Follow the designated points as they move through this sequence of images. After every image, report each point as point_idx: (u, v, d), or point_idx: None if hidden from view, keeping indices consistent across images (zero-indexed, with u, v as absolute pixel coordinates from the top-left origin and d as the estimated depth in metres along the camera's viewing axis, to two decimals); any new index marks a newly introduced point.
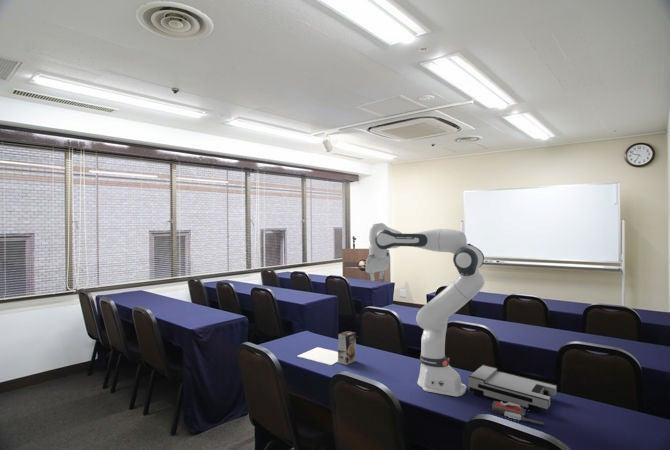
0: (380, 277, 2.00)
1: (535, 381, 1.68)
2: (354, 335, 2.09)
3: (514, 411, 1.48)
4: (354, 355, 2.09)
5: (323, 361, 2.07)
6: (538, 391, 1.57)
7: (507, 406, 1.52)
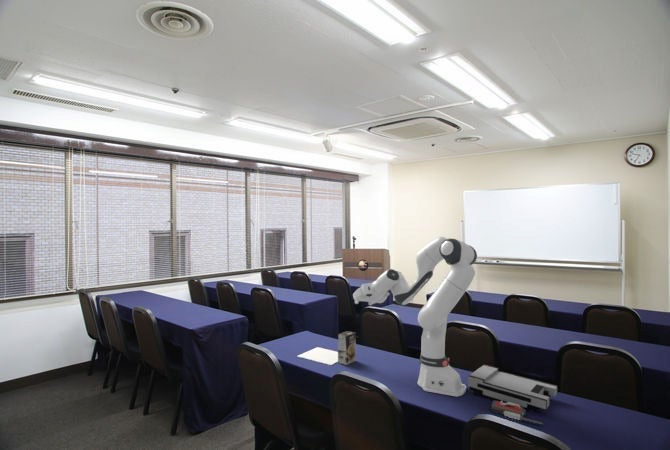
0: None
1: (536, 381, 1.68)
2: (354, 335, 2.09)
3: (513, 411, 1.48)
4: (354, 355, 2.09)
5: (323, 361, 2.07)
6: (537, 391, 1.57)
7: (507, 406, 1.52)
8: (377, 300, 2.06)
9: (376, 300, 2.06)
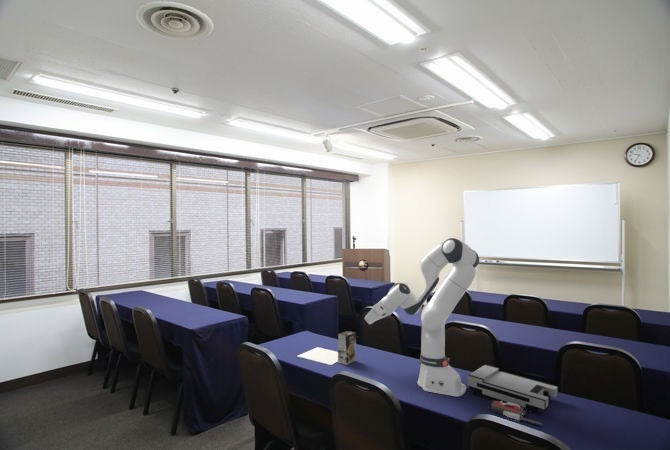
0: None
1: (536, 381, 1.67)
2: (354, 335, 2.09)
3: (513, 411, 1.49)
4: (354, 355, 2.09)
5: (323, 361, 2.07)
6: (537, 391, 1.57)
7: (506, 406, 1.52)
8: (384, 315, 2.02)
9: (383, 316, 2.02)
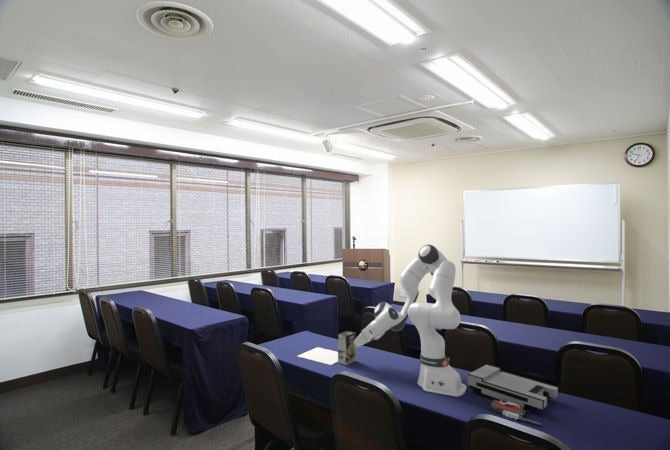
0: None
1: (537, 382, 1.67)
2: (354, 335, 2.09)
3: (512, 410, 1.49)
4: (354, 355, 2.09)
5: (323, 361, 2.07)
6: (536, 391, 1.57)
7: (506, 405, 1.52)
8: None
9: None
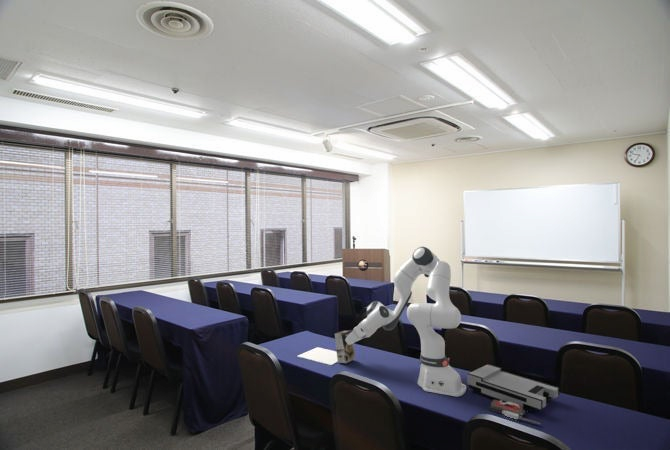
0: None
1: (537, 382, 1.67)
2: None
3: (512, 410, 1.49)
4: (353, 353, 2.09)
5: (323, 361, 2.07)
6: (535, 392, 1.57)
7: (506, 405, 1.52)
8: None
9: None
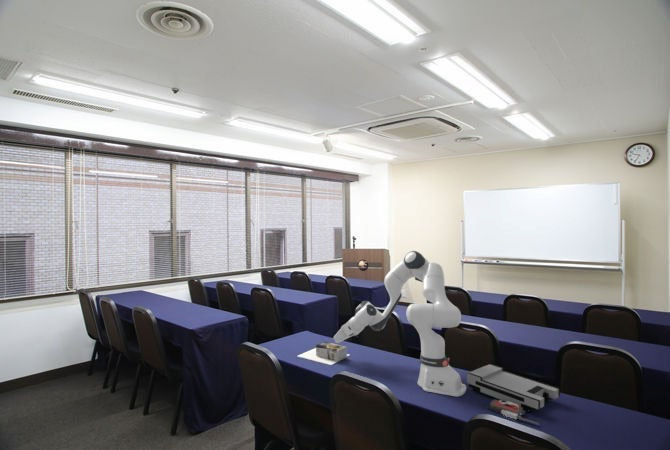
0: None
1: (538, 383, 1.66)
2: (325, 342, 2.21)
3: (511, 410, 1.49)
4: (340, 346, 2.15)
5: (323, 361, 2.07)
6: (534, 392, 1.56)
7: (505, 405, 1.53)
8: None
9: None
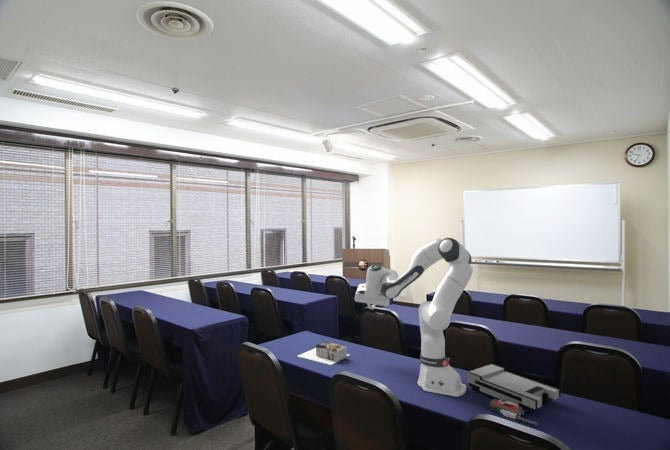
0: None
1: (538, 383, 1.65)
2: (325, 342, 2.21)
3: (510, 410, 1.49)
4: (340, 346, 2.15)
5: (323, 361, 2.07)
6: (533, 392, 1.56)
7: (505, 404, 1.53)
8: (380, 302, 2.12)
9: (378, 302, 2.12)
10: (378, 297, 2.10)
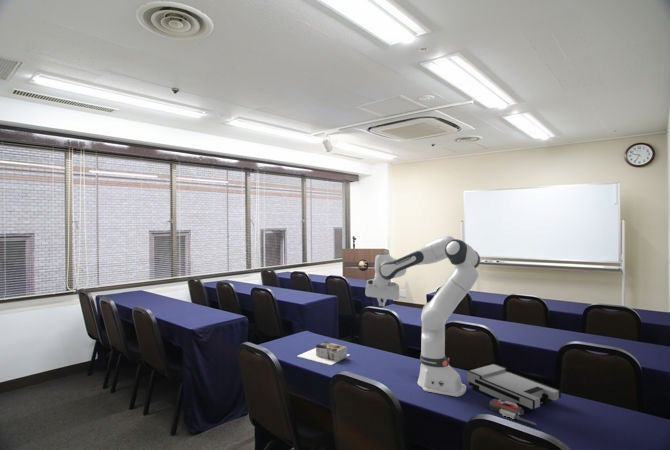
0: None
1: (539, 384, 1.65)
2: (325, 342, 2.21)
3: (509, 409, 1.49)
4: (340, 346, 2.15)
5: (323, 361, 2.07)
6: (531, 392, 1.56)
7: (505, 404, 1.53)
8: (388, 294, 2.07)
9: (387, 294, 2.07)
10: (386, 288, 2.08)
